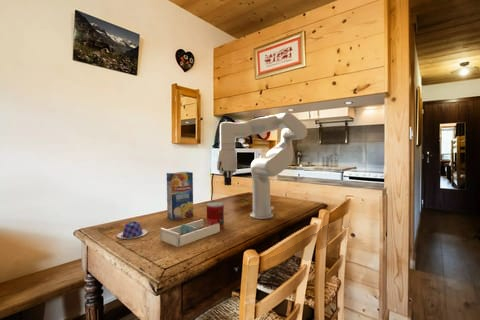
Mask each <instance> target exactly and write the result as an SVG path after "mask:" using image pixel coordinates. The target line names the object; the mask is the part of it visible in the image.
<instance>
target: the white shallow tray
mask: <svg viewBox="0 0 480 320" xmlns="http://www.w3.org/2000/svg"><path fill="white" fill-rule="evenodd" d="M204 222H205V221H204V219H203V218H201V219H199V220H195V221H192V222H188V223H186V224H187V225H190V226H193V227H196V231H193V232H190V233H187V234H184V235H182V234H181V225H178V226H177V225H176V226H174V227H170V228H165V227H160V241H162V242H165V243H167V244H170V245H172V246H174V247H177V248H179V247H182V246H185V245H188V244H190V243H193V242H195V241H197V240H198V241H199V240H200V239H203V238H207V237H209V236H211V235H214V234H217V233H219V232H221V231H220V230H221V229H220V224H219V223H217V224H214V225H211V226H208V227H207V226H206V227H205V225H204V224H205V223H204Z"/></svg>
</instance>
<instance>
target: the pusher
mask: <svg viewBox="0 0 480 320" xmlns="http://www.w3.org/2000/svg"><path fill="white" fill-rule="evenodd" d="M196 230H197V229H196V227H193V226H190V225H187V223H181V235H184V234H187V233H190V232H193V231H196Z"/></svg>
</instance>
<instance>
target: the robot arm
mask: <svg viewBox="0 0 480 320" xmlns="http://www.w3.org/2000/svg"><path fill="white" fill-rule="evenodd" d="M277 130H280V140H279V142H278V143H276V145H274V146H273V147H272V148H270V149H269V150H268V151H267V152H266V154H265V157H257V158H255V159H253V160H252V161H251V163H250V173H251V178H252V211H251V212H250V213H249V216H250V218H253V219H257V220H266V219H272V218H273V217H274V213H272V211H273V210H274V209H275V206H274V205H273V206H271V181H270V177H272V178H274V177H276V176H278V175H280V174H281V173H282V172H283V171H284V170H286V168H288V167H289V166H290V165H291V164H292V162H293V159H294V153H293V144H292V143H293V142H292V141H295V140H303V139H305V138H306V137H308V128H307V125H305V124H304V123H303V122H302V121H301V120H300V119H299V118H298V117H296V116H295V115H294V114H292V113H290V112H282V113H277V114H272V115H271V114H270V115H268V116H267V115H266V116H260V117H257V118H253V119H251V120H246V121H242V122H232V121H222V122H220V124H219V150H218V152H217V162H216V167H217V168H216V169H217V171H218V173H219V174H221V175H222V176H223V178H224V179H223V182H224V186H232V177H233V174H235V173H236V172H237V171H236V170H237V169H238V158H237V151H236V148H237V147H236V139H242V138H247V137H249V136H250V135H260V134H266V133H269V132H274V131H277Z"/></svg>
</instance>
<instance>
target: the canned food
mask: <svg viewBox="0 0 480 320" xmlns="http://www.w3.org/2000/svg"><path fill="white" fill-rule="evenodd" d="M224 206H225V205H224V203H223V202H219V201H218V202H216V201H214V202H208V203H206V227H208V226H211V225H214V224H217V223H219V224H220V230H222V229H223V228H225V227H224V225H225V224H224V223H225V219H224V218H225V217H224V216H225V214H224V213H225V212H224V211H225V209H224V208H225V207H224Z"/></svg>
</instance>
